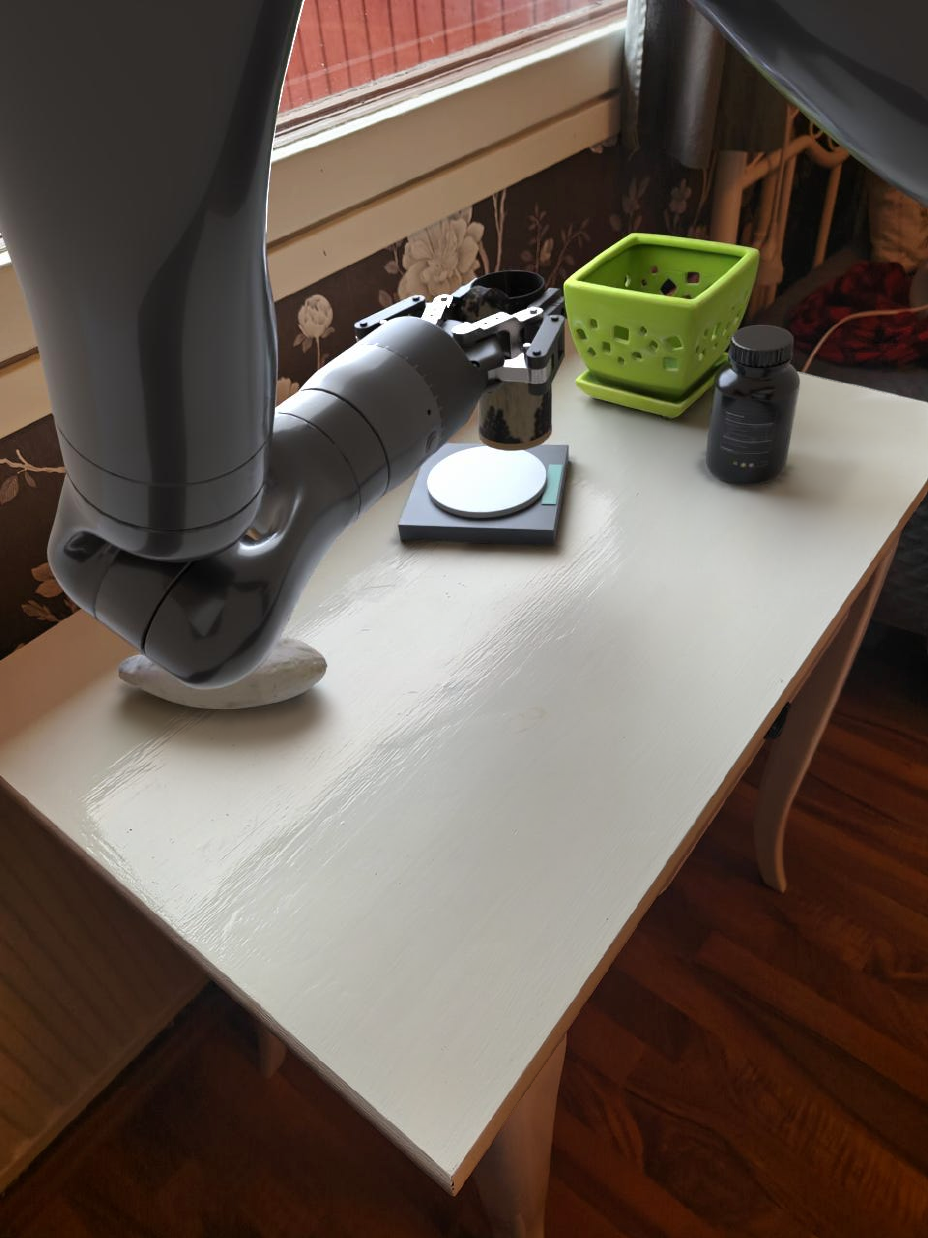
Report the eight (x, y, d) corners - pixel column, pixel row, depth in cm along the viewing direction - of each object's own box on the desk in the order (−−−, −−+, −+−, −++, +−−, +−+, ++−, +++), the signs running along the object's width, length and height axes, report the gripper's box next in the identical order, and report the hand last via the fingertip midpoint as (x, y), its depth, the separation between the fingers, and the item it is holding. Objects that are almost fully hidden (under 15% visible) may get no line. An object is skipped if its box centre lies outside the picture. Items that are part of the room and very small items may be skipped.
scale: (568, 459, 80) (568, 438, 78) (554, 546, 70) (553, 524, 69) (432, 457, 82) (429, 436, 81) (400, 540, 73) (396, 518, 71)
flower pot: (628, 348, 95) (632, 228, 87) (749, 374, 88) (767, 247, 80) (559, 403, 87) (557, 278, 79) (686, 437, 81) (699, 304, 72)
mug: (501, 406, 67) (491, 249, 59) (565, 420, 65) (564, 257, 57) (449, 456, 63) (430, 292, 55) (516, 472, 60) (507, 303, 52)
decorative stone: (140, 656, 65) (124, 623, 63) (341, 652, 63) (332, 618, 61) (110, 718, 61) (92, 684, 58) (325, 715, 59) (315, 681, 57)
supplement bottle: (709, 442, 80) (723, 316, 72) (787, 449, 78) (810, 319, 70) (699, 483, 75) (713, 353, 67) (782, 491, 73) (807, 358, 65)
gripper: (488, 368, 43) (619, 250, 54) (268, 329, 49) (425, 230, 60) (497, 493, 48) (615, 364, 59) (297, 444, 54) (436, 335, 65)
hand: (518, 297), depth 59 cm, fingers closed on mug, 5 cm apart
